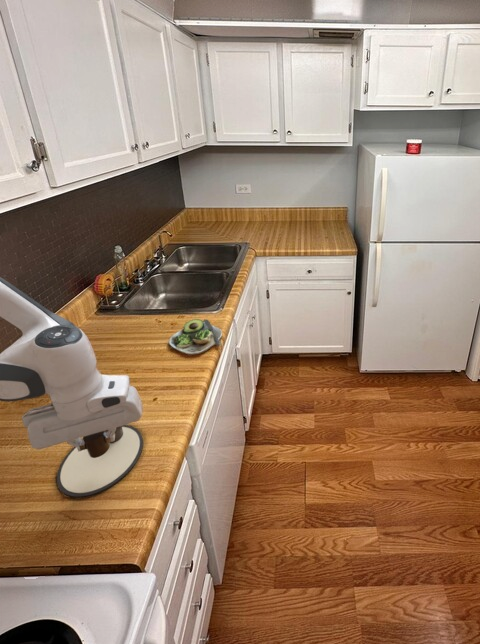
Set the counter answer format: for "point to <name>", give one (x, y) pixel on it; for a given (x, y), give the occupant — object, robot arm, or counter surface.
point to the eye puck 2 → (117, 434)
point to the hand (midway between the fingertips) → (97, 443)
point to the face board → (99, 466)
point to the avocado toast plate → (196, 337)
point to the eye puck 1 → (96, 444)
